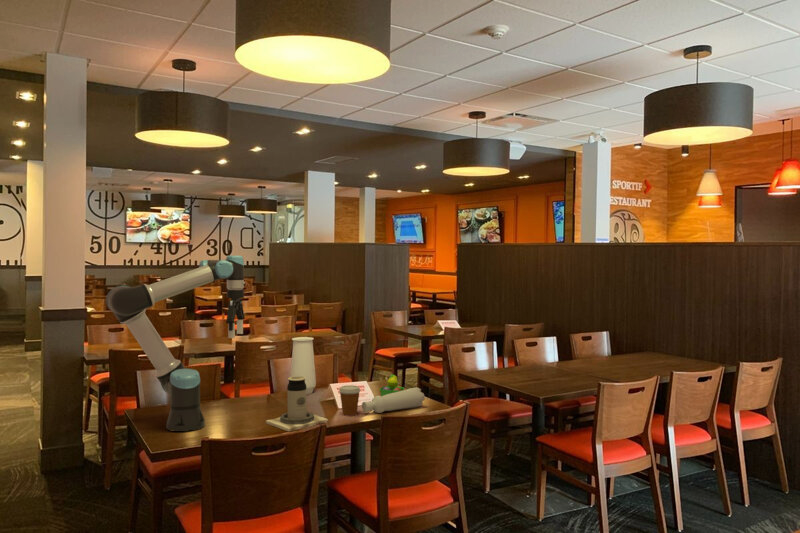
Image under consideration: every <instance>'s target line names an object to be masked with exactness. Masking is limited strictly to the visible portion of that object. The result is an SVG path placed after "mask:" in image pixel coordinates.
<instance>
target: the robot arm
mask: <svg viewBox="0 0 800 533" xmlns="http://www.w3.org/2000/svg"><path fill="white" fill-rule="evenodd" d="M244 266H245V264H244V257H243V256H242V255H227V256H226V259H203V260H200V261H199V265H198V268H194V269H191V270H187V271H186V272H183V273H180V274H177V275H174V276H171V277H168V278H165V279H162V280H160V281H157V282H153V283H150V284H146V283H142V284H139V285H134V286H128V285H122V284H121V285H117V286H115V287H113V288H112V289H111V290H110V291H109V292H108V293H107V295H106V300H105V301H106V306H107V307H108V309H109V310H110V311H111V312H112V313H113V315H114V316H115V318H116V319H117V320H118V322H119V323H120V324H122V325H126V327H127V328H128V330H129V331H130V333H131V334H132V336H133V337H134V339H135V340H136V341H137V343H138V345H139V346H140V348H141V349H142V351H143V352H144V353H145V356H146V357H147V359H149V361H150V363H151V364H152V366H153V367H154V369H155V370H156V372H155V377H156V378H157V380H158V382H159V383H160V386H161V388H162V390H163V391H164V392H165V393H167V394H168V395H169V398H170V411H169V413H168V417H167V421H166V426H165V428H167V429H169V430H174V431H188V430H194V431H197V430H196V429H198V430H200V428H201V429H203V428H204V427H205V424H206V423H205V418H204V415H203V412H202V408H201V377H200V372H199V371H198V370H196V369H192V368H186V366H185V365H184V364H183V363H182V361H181V360H180V359H176V358H175V356H173V354H172V353H171V350H170V349H169V348H168V346H167V344H165V342H164V339H162V337H161V335H160V334H159V333H158V331H157V330H156V328H155V326H154V325H153V323H152V322H151V320H150V318H149V317H148V316H147V314H146V311H147V309H148V308H152V307H153V306H154V305H155V303H158V302H160V301H163V300H166V299H169V298H172V297H174V296H177V295H180V294H183V293H186V292H188V291H190V290H194V289H196V288H198V287H201V286H204V285H206V284H207V285H208V284H209V283H212V282H216V281H218V280H221V279H226V289H227V290H226V298H227V299H230V300H228V306H227V307H228V308H227V316H226V321H225V323H226V324H227V327H228V328H227V333H228V334H227V335H228V339H235V338H236V335H243V334H244V320H246V318H245V312H244V306H243V298H245V290H244V288H245V287H244V286H245V284H246V281H244V278H245V277H244V276H245V275H244V274H245V271H244V270H245V267H244ZM236 318H237V319H236ZM235 319H236V324H235ZM235 325H236V327H235ZM235 328H236V329H235ZM235 334H236V335H235ZM202 427H203V428H202ZM167 429H166V430H167Z"/></svg>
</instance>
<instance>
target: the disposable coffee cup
mask: <svg viewBox="0 0 800 533" xmlns="http://www.w3.org/2000/svg"><path fill="white" fill-rule="evenodd" d="M338 392H339V394H340V402H341V409H342V410H341V411H342V415H343V414H344V415H343V416H346V415H352V416H356V415H357V414H358V406H359V399H360V398H359V397H360V392H361V388H360V386H358V385H353V384H351V385H342V386H340V388H339V390H338ZM355 414H356V415H355Z"/></svg>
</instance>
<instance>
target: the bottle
mask: <svg viewBox="0 0 800 533" xmlns="http://www.w3.org/2000/svg"><path fill="white" fill-rule="evenodd" d="M424 401H425V394H424V392H422V389H421V388H419V387H412V388H411V387H410V388H407V389H404V390H403V391H399V392H395V393H390V394H386V395H384V396H381V395H375V396H374V397H373V398H372V399H371V400H369V401H363V402H362V403H361V408H362V410H363V412H364V413H367V412H372V411H374V412H375V413H378V414H381V413H384V412H391V411H397V410H406V409H414V408H419V407H421V406H422V405H424V403H423V402H424Z"/></svg>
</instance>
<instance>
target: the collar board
mask: <svg viewBox="0 0 800 533" xmlns="http://www.w3.org/2000/svg"><path fill="white" fill-rule="evenodd" d="M306 413H307V418H303V419H288V412H285V413H282V414H281V415H279V417H276V418H272V419H267V420H265V424H267V425H270V426H272V427H274V428H278V429H280V430H283V431H286V432H289V433H290V432H294V431H298V430H301V429H305V428H310V427H313V425H314V426H317V425H316V424H318V423H322V424H324V423H323V422H326V423H328V422H329V419H328V418H326V417H322V416H319V415H317V414H314V413H313V412H309V411H306ZM327 421H328V422H327ZM318 425H319V424H318Z"/></svg>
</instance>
